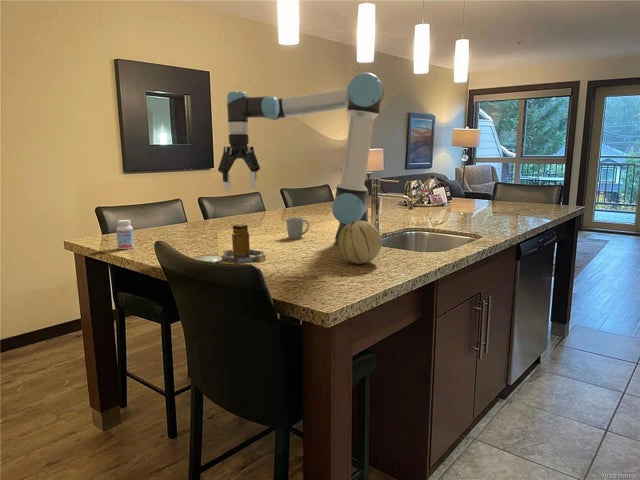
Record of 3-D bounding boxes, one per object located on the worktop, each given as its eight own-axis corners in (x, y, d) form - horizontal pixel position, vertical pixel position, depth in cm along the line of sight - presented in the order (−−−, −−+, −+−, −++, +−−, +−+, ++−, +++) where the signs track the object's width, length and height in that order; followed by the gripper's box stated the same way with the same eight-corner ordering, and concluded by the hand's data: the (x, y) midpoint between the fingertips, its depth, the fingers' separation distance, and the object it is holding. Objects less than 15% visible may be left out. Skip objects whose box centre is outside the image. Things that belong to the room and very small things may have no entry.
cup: (284, 237, 212) (284, 217, 210) (306, 235, 215) (306, 216, 213) (288, 240, 204) (288, 220, 203) (311, 238, 207) (310, 219, 206)
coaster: (228, 259, 169) (227, 258, 169) (206, 265, 161) (206, 263, 161) (208, 256, 174) (208, 254, 174) (186, 261, 166) (186, 260, 166)
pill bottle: (117, 250, 186) (114, 222, 184) (119, 247, 192) (116, 219, 190) (133, 249, 188) (131, 221, 186) (135, 246, 194) (133, 219, 192)
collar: (275, 257, 172) (275, 251, 172) (249, 265, 161) (249, 259, 160) (239, 251, 182) (238, 246, 182) (211, 258, 171) (211, 253, 170)
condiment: (232, 256, 175) (231, 224, 172) (256, 255, 175) (255, 223, 173) (231, 260, 167) (229, 227, 165) (255, 260, 168) (254, 226, 166)
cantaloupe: (389, 262, 163) (390, 219, 160) (364, 270, 152) (364, 224, 149) (355, 256, 172) (355, 215, 170) (328, 263, 162) (328, 220, 159)
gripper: (254, 134, 195) (255, 186, 199) (206, 133, 175) (209, 191, 179) (267, 134, 191) (269, 187, 195) (220, 132, 171) (223, 192, 175)
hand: (240, 189), depth 187 cm, fingers open, 13 cm apart
